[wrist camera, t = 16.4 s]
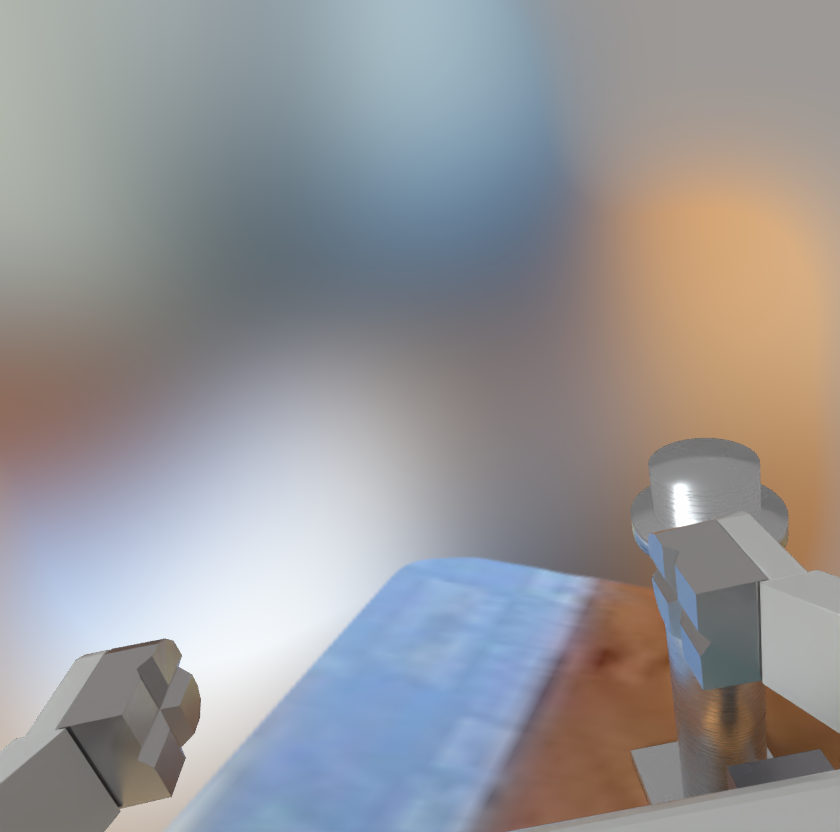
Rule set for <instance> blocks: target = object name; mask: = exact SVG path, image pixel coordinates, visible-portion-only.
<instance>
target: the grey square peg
mask: <svg viewBox="0 0 840 832" xmlns="http://www.w3.org/2000/svg"><path fill="white" fill-rule="evenodd" d="M833 770H834V768H833V767H832V765H831V764H830V763H829V761H828V760H827V758H826V757H825V756H824V754H823V753H822V751H821V750H820V749H818V750H812V751H807V752H802V753H796V754H791V755H786V756H780V757H775V758H770V759H765V760H759V761H754V762H749V763H743V764H738V765H733V766H727V783H728V790H732V789H737V788H743V787H748V786H753V785H759V784H764V783H769V782H774V781H780V780H785V779H790V778H796V777H801V776H806V775H812V774H817V773H822V772H828V771H833Z"/></svg>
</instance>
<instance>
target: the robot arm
mask: <svg viewBox="0 0 840 832" xmlns="http://www.w3.org/2000/svg"><path fill="white" fill-rule="evenodd" d="M648 546H649V555H650V556H651V558H652V560H653V561H654V563H655V564H656V566H657V569H656V571H655V573H654V574H653V576H652V581H653V588H654V594H655V597H656V601H657V604H658V608H659V611H660V613H661V616H662V618H663V620H664V623H665V624H666V626H667V628H668V630H669V632H670V633H671V635H673V636H674V637H676V638H678V639H680V640H682V646H683V656H684V658H685V660H686V661H687V663H688V665H689V666H690V668H691V670H692V672H693V673H694V675H695V677H696V678H697V680H698V682H699V684H700V685H701V687H702V689H703V690H710V689H716V688H721V687H727V686H733V685H739V684H745V683H751V682H757V681H762V683H763V684H764V685H766V686H767V687H769V688H770V689H772V690H773V691H775V692H777V693H778V694H780V695H781V696H783V697H784V698H786V699H787V700H789V701H790V702H792V703H793V704H795V705H797V706H798V707H800V708H801V709H803V710H804V711H806V712H807V713H809V714H810V715H812V716H813V717H815V718H816V719H818V720H820V721H821V722H823V723H824V724H826V725H827V726H829V727H830V728H832V729H833V730H835V731H836V732H838V733H840V578H839V577H836V576H834V575H831V574H828V573H825V572H822V571H820V570H815V571H810V572H808V571H807V570H806V569H804V567H803V566H802V565H801V564H800V563H798V562H797V561H796V560H795V559H794V558H793V557H792V556H791V555H790V554H789V553H788V552H787V551H786V550H785V549H784V548H783V547H782V546H781V545H780V544H779V543H778V542H777V541H776V540H775V539H774V538H773V537H772V536H771V535H770V534H769V533H768V532H767V531H766V530H765V529H764V528H763V527H762V526H761V525H760V524H759V523H758V522H757V521H756V520H755V519H754V518H753V517H752V516H751V515H750V514H749V513H747V512H744V511H740V512H736V513H732V514H728V515H724V516H720V517H716V518H711V520H707V521H703V522H698V523H694V524H690V525H685V526H681V527H676V528H672V529H667V530H663V531H658V532H654V533H649V538H648ZM181 657H182V655H181V653H180V651H179V649H178V648H177V646H176V644H175V643H174V641H172V640H168V639H161V640H155V641H150V642H145V643H140V644H135V645H130V646H125V647H119V648H114V649H111V650H105V651H101V652H96V653H91V654H86V655H84V656H82V657H80V658H79V659H77V660H75V662H74V663H73V665H72V666H71V668H70V669H69V671H68V673H67V674H66V675H65V677H64V679H63V680H62V681H61V683H60V684H59V686H58V687H57V689H56V691H55V692H54V694H53V695H52V697H51V698H50V700H49V701H48V703H47V704H46V706H45V707H44V709H43V710H42V712H41V713H40V715H39V716H38V718H37V719H36V721H35V722H34V724H33V726H32V727H31V728H30V730H29V731H28V733H27V734H26V736H25V737H21V738H16V739H15V740H14V741H12V742H11V743H10V744H9V745H7V746H6V747H5V748H4V749H3V750H1V751H0V832H104V831H105V830H106V829H107V828H108V827H109V825H110V824H111V823H112V822H113V820H114V819H115V818H116V817H117V815H118V814H119V813H120V809H121V808H126V807H130V806H134V805H138V804H143V803H147V802H151V801H156V800H160V799H164V798H169V797H172V794H173V791H174V788H175V786H176V783H177V780H178V778H179V775H180V772H181V769H182V767H183V764H184V761H185V758H186V757H185V755H184V753H183V750H182V748H181V747H182V746H183V745H184V744H185V743H186V742H187V741H188V740H189V739H190V738H191V737H192V735H193V734H194V733H195V730H196V728H197V725H198V722H199V719H200V703H201V698H200V694H199V690H198V685H197V683H196V682H195V679H194V677H193V676H192V674H190V673H188V672H187V671H185V670H183V669H181V668H180V667H179V663H180V660H181ZM509 832H840V769H838V770H833V771H828V772H822V773H817V774H812V775H806V776H801V777H796V778H790V779H785V780H780V781H774V782H769V783H764V784H759V785H753V786H748V787H743V788H737V789H732V790H727V791H721V792H716V793H711V794H706V795H700V796H695V797H690V798H684V799H679V800H674V801H668V802H663V803H658V804H652V805H647V806H642V807H636V808H631V809H626V810H621V811H615V812H610V813H605V814H599V815H594V816H589V817H583V818H578V819H573V820H567V821H562V822H557V823H551V824H546V825H541V826H536V827H530V828H525V829H520V830H514V831H509Z"/></svg>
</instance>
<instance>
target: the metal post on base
mask: <svg viewBox="0 0 840 832" xmlns="http://www.w3.org/2000/svg"><path fill="white" fill-rule="evenodd" d="M648 465H649V475H650V484H651V485H650V486H649V487H647V488H646V489H644V490H643V491H642V492H641V493H640V494H639V495H637V497H636V498H635V500H634V501H633V504H632V507H631V520H632V528H633V534H634V538H635V540H636V542H637V544H638V545H639V546H640V548H641V549H642V550H643V551H644V552H645V553H646V554H648V555H649V546H648V538H649V533H654V532H658V531H663V530H667V529H672V528H676V527H681V526H685V525H690V524H694V523H698V522H703V521H707V520H711V518H716V517H720V516H724V515H728V514H732V513H736V512H740V511H744V512H747V513H749V514H750V515H751V516H752V517H753V518H754V519H755V520H756V521H757V522H758V523H759V524H760V525H761V526H762V527H763V528H764V529H765V530H766V531H767V532H768V533H769V534H770V535H771V536H772V537H773V538H774V539H775V540H776V541H777V542H778V543H779V544H780V545H781V546H782V547H783V548H785V546H786V544H787V541H788V510H787V508H786V505H785V504H784V502H783V501H782V499H781V498H780V497H779V496H778V495H777V494H776V493H774V492H773V491H772V490H770V489H769V488H767V487H765V486H764V485H761V483H760V460H759V458H758V456H757V454H756V453H755V452H754V451H752V450H751V449H750V448H748V447H746V446H744V445H742V444H739V443H736V442H733V441H729V440H723V439H715V438H695V439H687V440H682V441H678V442H674V443H671V444H668V445H666V446H664V447H662V448H660V449H659V450H657V451H656V452H655V453H654V454H653V455H652V456H651V457H650V460H649V463H648ZM649 556H650V555H649ZM650 557H651V556H650ZM665 626H666V624H665ZM666 635H667V645H668V654H669V663H670V673H671V682H672V692H673V701H674V710H675V720H676V729H677V739H678V741H677V742H672V743H667V744H662V745H657V746H652V747H647V748H641V749H636V750H631V756H632V762H633V764H634V767H635V770H636V772H637V775H638V777H639V780H640V782H641V785H642V788H643V790H644V793H645V795H646V798H647V801H648V803H649V805H652V804H658V803H663V802H668V801H674V800H679V799H684V798H690V797H695V796H700V795H706V794H711V793H716V792H721V791H727V790H728V783H727V766H733V765H738V764H743V763H749V762H754V761H759V760H765V759H770V758H774V757H773V756H772V754H771V752H770V751H769V749H768V748H767V733H766V691H765V685H764V684H763V683H762V681H757V682H751V683H745V684H739V685H733V686H727V687H721V688H716V689H710V690H703V689H702V687H701V685H700V684H699V682H698V680H697V678H696V677H695V675H694V673H693V672H692V670H691V668H690V666H689V665H688V663H687V661H686V660H685V658H684V656H683V646H682V640H680V639H678V638H676V637H674V636H673V635H671V633H670V632H669V630H668V628H667V626H666Z"/></svg>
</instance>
